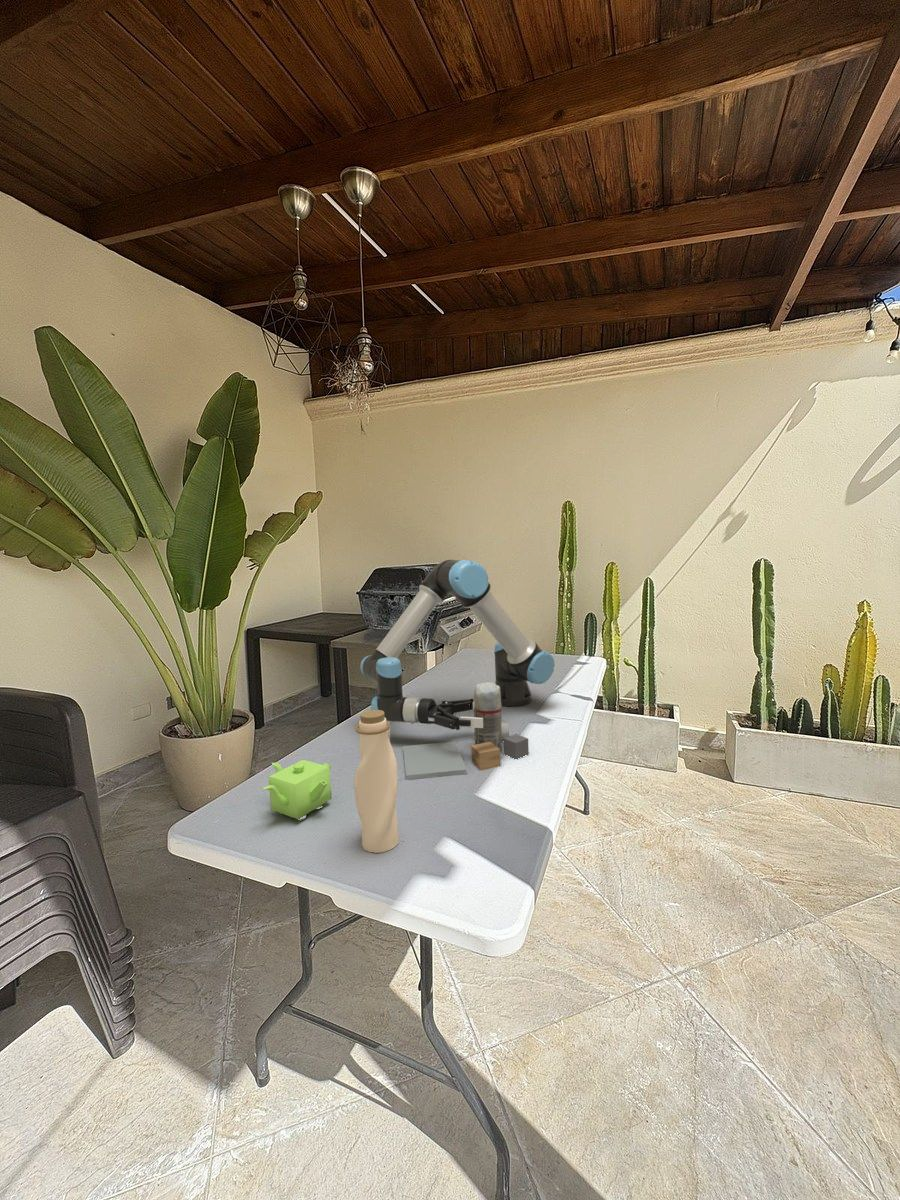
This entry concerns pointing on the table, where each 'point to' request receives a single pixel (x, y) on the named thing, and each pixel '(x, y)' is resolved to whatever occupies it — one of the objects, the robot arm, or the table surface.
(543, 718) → the table surface
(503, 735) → the white rounded cylinder
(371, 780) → the water bottle
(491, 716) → the red-banded paper cylinder
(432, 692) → the table surface
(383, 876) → the table surface
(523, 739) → the charcoal rubber cube
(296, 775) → the kettle
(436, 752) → the slate board
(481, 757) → the walnut block
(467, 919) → the table surface
